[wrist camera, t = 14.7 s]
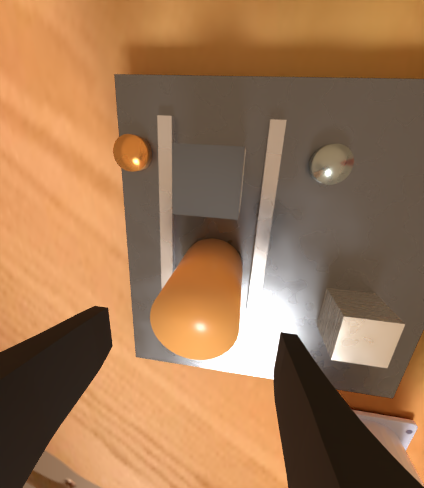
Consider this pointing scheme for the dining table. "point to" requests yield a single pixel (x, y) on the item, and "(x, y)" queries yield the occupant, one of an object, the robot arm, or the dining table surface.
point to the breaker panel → (288, 215)
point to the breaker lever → (207, 180)
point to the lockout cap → (201, 302)
